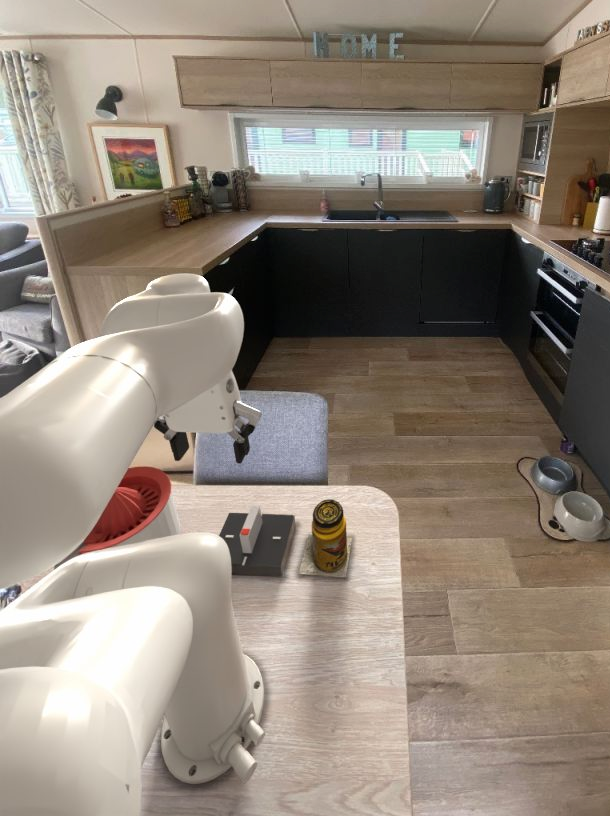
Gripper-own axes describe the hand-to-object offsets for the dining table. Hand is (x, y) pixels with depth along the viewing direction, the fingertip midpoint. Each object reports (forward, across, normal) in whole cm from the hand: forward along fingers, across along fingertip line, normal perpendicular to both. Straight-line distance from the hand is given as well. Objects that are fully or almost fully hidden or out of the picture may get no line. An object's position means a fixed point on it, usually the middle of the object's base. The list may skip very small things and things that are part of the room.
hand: (212, 455), depth 61 cm
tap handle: (+22, -3, -3) cm, 22 cm away
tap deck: (+25, -3, -3) cm, 25 cm away
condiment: (+25, -16, -2) cm, 30 cm away
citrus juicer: (+25, +16, +4) cm, 30 cm away
